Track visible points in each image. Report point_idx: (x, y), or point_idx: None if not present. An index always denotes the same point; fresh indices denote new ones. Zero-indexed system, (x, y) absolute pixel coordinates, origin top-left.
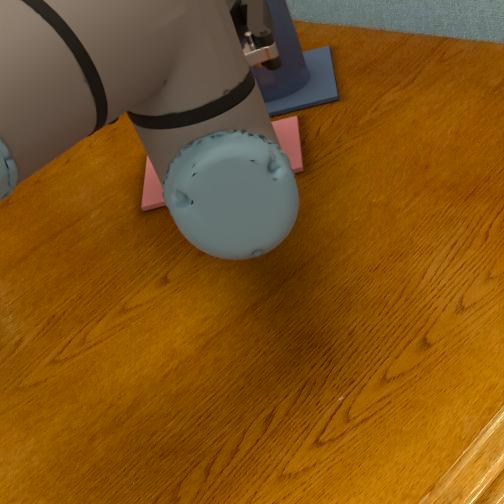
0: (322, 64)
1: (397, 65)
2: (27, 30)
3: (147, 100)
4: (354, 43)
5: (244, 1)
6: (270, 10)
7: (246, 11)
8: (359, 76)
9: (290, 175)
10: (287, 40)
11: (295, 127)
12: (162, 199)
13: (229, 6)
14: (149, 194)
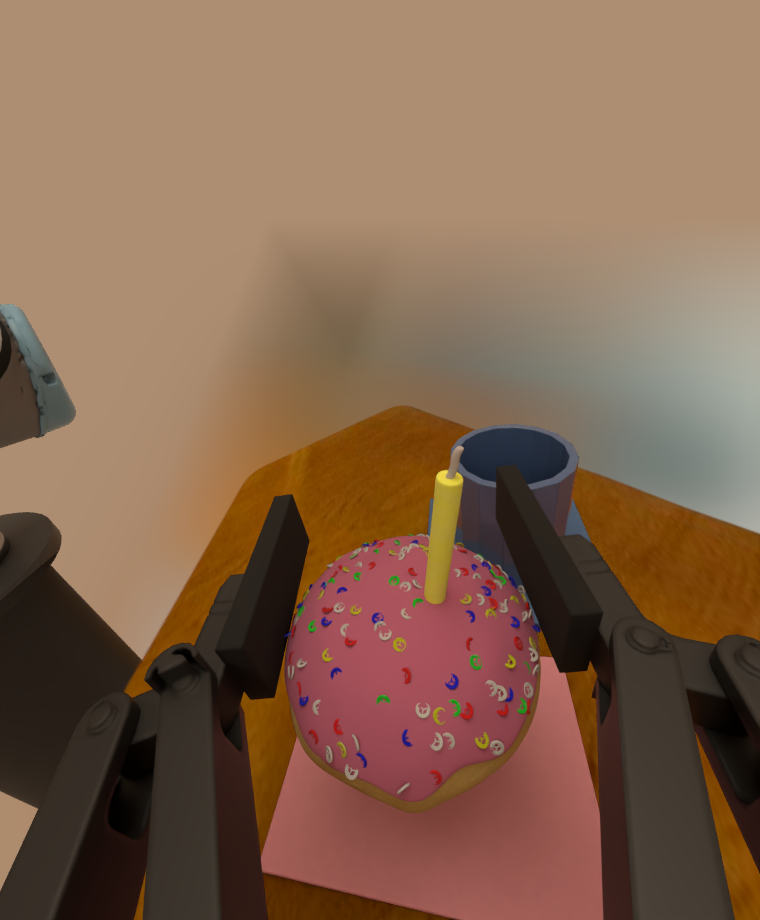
0: (573, 532)
1: (706, 575)
2: None
3: None
4: (603, 499)
5: (684, 662)
6: (560, 497)
7: (689, 703)
8: (641, 577)
9: None
10: (562, 529)
11: (568, 703)
12: (300, 866)
13: (680, 745)
14: (287, 811)
